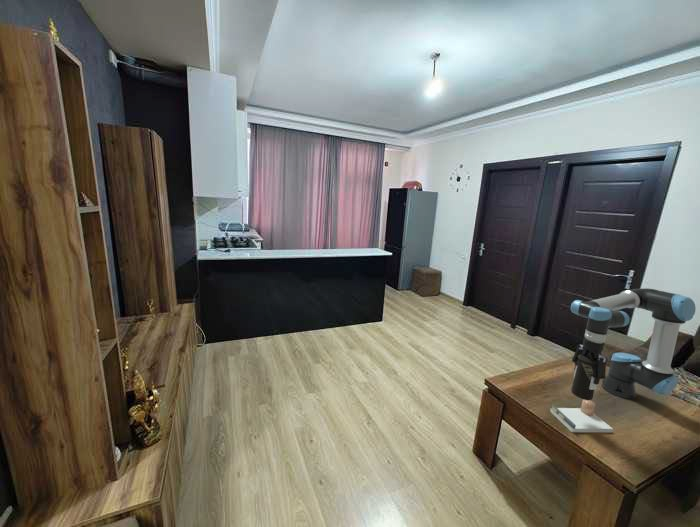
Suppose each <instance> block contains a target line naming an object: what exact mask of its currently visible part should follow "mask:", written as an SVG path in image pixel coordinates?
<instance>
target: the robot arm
mask: <svg viewBox="0 0 700 527" xmlns="http://www.w3.org/2000/svg"><path fill="white" fill-rule="evenodd" d="M635 308H636V309H642V310H645V311H649V312H651V318H653V319H654V325H653V329H652V334H651V337H650V338H651V339H650V342H649V343H650V344H649V347H648V351H647V352H648V353H647V357H646V360H643V361H642V358H641V357H639V356H637V355H634V354H632V353H626V352H615V353H613V354H612V357H611V358H610V363H609V368H608V372H606V369H607V366H606V365H607V362H608V358H607V357H604V356H602V351H604V347H605V345H606V344H605V343H606V341H607V336H608V332H609V331H608V330H609V329H611V328H622V327H626V326H627V325H629V324H630V320H631V319H630V316H629V314H628V313H626V312H625V311H622V309H635ZM570 311H571V313H573V314H575V315H577V316H579V317H580V316H581V317H583V318H586V319H587V321H586V322H587V323H586V328H585V332H584V338H583V341H582V344H577V345H576V350H575V352H574V354H573V357H572V359H571V362H572V363H574V368H573V370H574V374H573V378H574V377H575V373H576V369H577V365H578V355H582V356H586V357H588V358H589V359H590V360H591V361H592V362H598V367H596V366H594V368H593V374H594V376H592V378H591V383H590V387H589V389H590V390H594V391H597V386H598V385H599V383H601V384H600V386H601V388H602V389H604V390H605V391H606V392H607V393H610V394H612V395H614V396H616V397H619V398H623V399H627V400H634V399H635V398H636V397H637V390H636V385H635V383H636V384H637V385H641V386H642V387H645V388H647V389H648V390H651V391H652V392H655V393H658V394H659V395H664V396H665V395H668V394H669V393H671V392H673V390H675V389H676V388H677V385H678V383H679V377H677V376H675V375H674V372H675V371H674V369H673V368H672V365H671V364H672V362H673V361H672V360H673V357H674V354H675V353H674V352H675V349H676V348H675V347H676V344H677V339H678V335H679V331H680V327H681V326H682V325H684V324H686V322H689V321H691V320H692V319H693V318H694V316H695V313H696V304H695V301H694V300H693V299H692V298H690V297H688V296H684V295H681V294H679V293H672V292H667V291H663V290H659V289H653V288H634V289H633V288H632V289H628V290H623V291H621V292H620V293H618V294H615V295H614V294H613V295H610V296H609V295H608V296H606V297H601V298H596V299H593V300H589V301H583V300H580V299H575V300H573V301H572V302H571V305H570ZM594 360H596V361H594ZM606 373H607V375H606ZM600 380H602V381H601V382H600Z"/></svg>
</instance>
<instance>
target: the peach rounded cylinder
mask: <svg viewBox="0 0 700 527" xmlns="http://www.w3.org/2000/svg"><path fill="white" fill-rule="evenodd" d="M580 408H581V412H582V413H584V414H586V415H589V416H593V413H594V412H595V409H596V403H595V401H593V400H584V399H582V402H581V406H580ZM594 414H595V413H594Z"/></svg>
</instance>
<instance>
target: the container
mask: <svg viewBox="0 0 700 527" xmlns="http://www.w3.org/2000/svg"><path fill="white" fill-rule="evenodd" d="M594 361H596V360H594ZM594 366H596V367H598V362H592V361H591V360H590V359H589V358H588V357H586V356H582V355H578V365H577V369H576V373H575V372H574V373H575V377H574V376H573V382H572V386H571V393H572V394H573V395H574V396H575V397H577V398H579V399H581V400H583V399H584V400H591V401H593V399H594V393H595V390H590V389H589V387H590V383H591V378H592V376H594V374H593V368H594Z"/></svg>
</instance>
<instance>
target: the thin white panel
mask: <svg viewBox="0 0 700 527" xmlns="http://www.w3.org/2000/svg"><path fill="white" fill-rule="evenodd" d="M549 412H550V413H551V414H552V415H553V416H554V417H556V419H557V420H559V421H560V423H561V424H563V425H564V426H565V427H566V428H567V429H568V430H569V431H570V432H571V433H613V430H614V429H613V427H611V426H610V425H609V424H608V423H606V422H605V421H604V420H603V419H602V418H600V417H599V416H597V415H596V414H595V413H593V416H589V415H586V414H584V413H582V412H581V407H575V408H574V407H557V406H555V405H554V404H551V406H550V410H549Z"/></svg>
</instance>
